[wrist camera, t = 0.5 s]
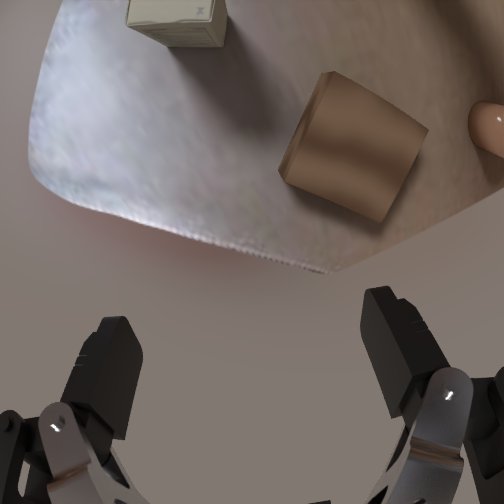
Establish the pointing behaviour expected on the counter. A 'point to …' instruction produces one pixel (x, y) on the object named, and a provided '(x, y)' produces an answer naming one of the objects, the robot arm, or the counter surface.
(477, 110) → the pink rounded knob
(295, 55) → the counter surface
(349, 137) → the walnut block
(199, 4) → the skincare box
